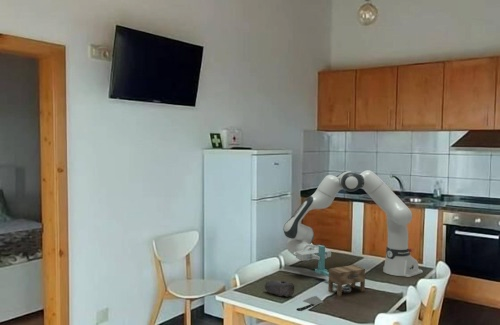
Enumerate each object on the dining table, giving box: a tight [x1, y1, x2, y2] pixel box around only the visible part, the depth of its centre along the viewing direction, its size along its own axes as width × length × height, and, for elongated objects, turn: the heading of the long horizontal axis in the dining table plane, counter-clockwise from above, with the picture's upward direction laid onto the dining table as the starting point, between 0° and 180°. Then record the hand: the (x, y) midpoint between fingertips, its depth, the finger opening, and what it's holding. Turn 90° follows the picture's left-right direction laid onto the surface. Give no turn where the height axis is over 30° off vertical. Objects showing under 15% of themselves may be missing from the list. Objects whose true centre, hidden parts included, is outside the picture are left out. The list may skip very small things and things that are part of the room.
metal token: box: [342, 286, 352, 294], centre depth 224 cm, size 4×4×2 cm
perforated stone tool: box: [264, 280, 295, 298], centre depth 217 cm, size 15×5×7 cm, turn 57°
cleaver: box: [296, 295, 324, 312], centre depth 209 cm, size 29×1×10 cm
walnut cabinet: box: [327, 264, 366, 297], centre depth 224 cm, size 16×9×11 cm, turn 119°
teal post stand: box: [314, 244, 329, 277], centre depth 236 cm, size 16×7×14 cm, turn 29°
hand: (322, 257), depth 240 cm, fingers closed on teal post stand, 2 cm apart
